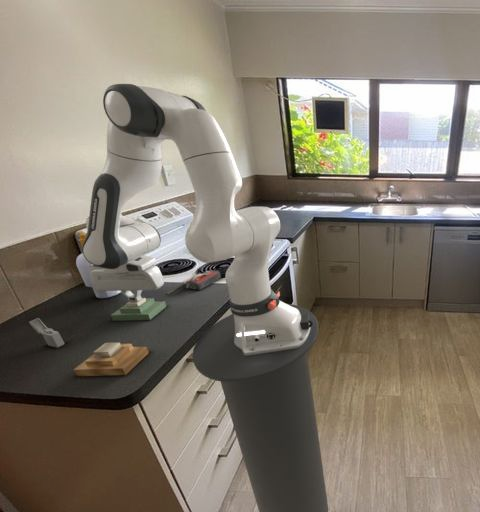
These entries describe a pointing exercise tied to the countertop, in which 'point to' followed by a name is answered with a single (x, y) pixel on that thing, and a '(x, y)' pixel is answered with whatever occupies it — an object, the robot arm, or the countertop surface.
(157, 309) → the key block
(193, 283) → the walkie-talkie
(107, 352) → the near key
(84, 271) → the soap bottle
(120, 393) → the countertop surface
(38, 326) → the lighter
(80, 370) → the key block
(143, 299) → the far key
